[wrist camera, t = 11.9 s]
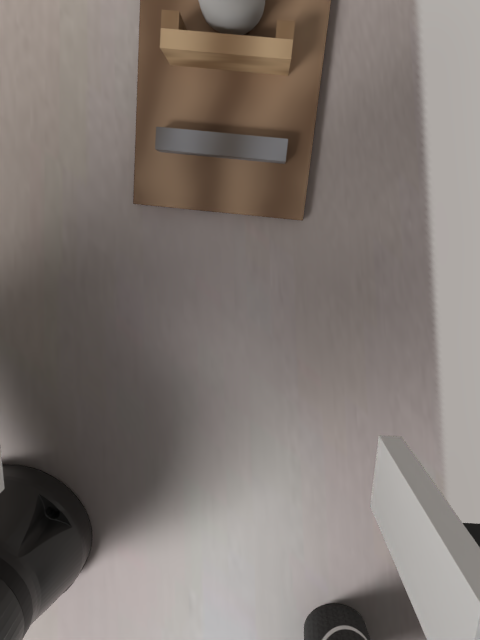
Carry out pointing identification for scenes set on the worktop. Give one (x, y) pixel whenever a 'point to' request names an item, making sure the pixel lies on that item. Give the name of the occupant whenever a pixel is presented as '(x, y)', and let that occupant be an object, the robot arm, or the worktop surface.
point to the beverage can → (232, 15)
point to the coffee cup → (335, 624)
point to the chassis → (228, 108)
